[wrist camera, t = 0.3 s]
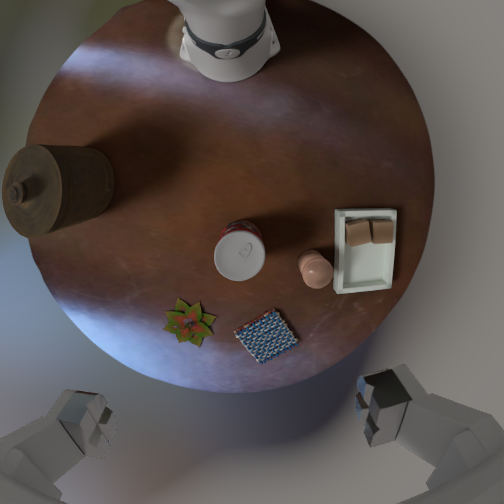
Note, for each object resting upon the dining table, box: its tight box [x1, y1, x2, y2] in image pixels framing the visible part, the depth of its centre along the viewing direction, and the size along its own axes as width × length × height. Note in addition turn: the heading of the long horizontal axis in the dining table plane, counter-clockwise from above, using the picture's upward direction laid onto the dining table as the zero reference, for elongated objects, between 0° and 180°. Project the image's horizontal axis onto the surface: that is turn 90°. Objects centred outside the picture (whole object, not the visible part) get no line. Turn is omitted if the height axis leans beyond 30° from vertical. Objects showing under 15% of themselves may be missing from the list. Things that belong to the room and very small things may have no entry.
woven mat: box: [234, 309, 298, 364], centre depth 59 cm, size 10×11×2 cm
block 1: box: [345, 218, 371, 247], centre depth 51 cm, size 4×4×4 cm
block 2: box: [367, 219, 394, 244], centre depth 51 cm, size 4×4×4 cm
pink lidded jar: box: [297, 249, 333, 288], centre depth 52 cm, size 5×5×7 cm
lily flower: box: [163, 298, 217, 347], centre depth 57 cm, size 12×12×5 cm
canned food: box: [214, 220, 265, 281], centre depth 49 cm, size 8×8×11 cm
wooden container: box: [2, 145, 115, 238], centre depth 39 cm, size 15×15×22 cm
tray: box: [333, 208, 397, 294], centre depth 53 cm, size 16×12×3 cm
